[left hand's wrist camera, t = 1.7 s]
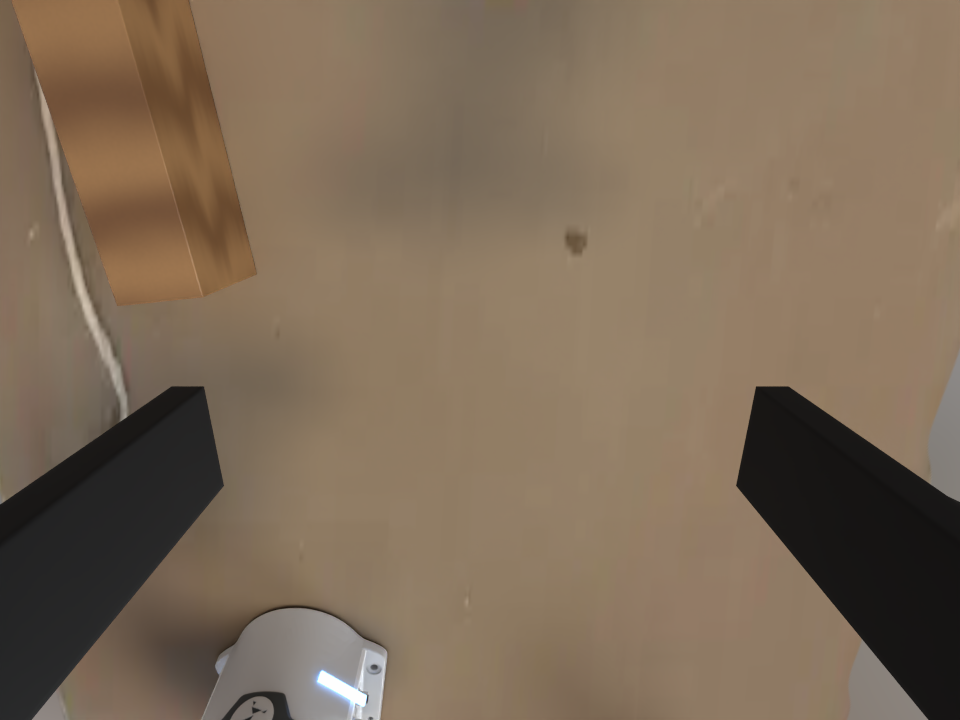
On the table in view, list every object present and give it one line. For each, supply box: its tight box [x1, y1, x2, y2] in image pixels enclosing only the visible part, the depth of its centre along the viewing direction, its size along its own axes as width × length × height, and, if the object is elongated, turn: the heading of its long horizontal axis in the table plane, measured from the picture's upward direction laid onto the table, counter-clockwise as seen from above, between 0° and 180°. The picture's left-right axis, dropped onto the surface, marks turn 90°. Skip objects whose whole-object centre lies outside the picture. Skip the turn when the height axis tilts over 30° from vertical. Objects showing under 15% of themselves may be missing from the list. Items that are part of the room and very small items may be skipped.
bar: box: [11, 0, 257, 306], centre depth 35 cm, size 25×6×9 cm, turn 6°
